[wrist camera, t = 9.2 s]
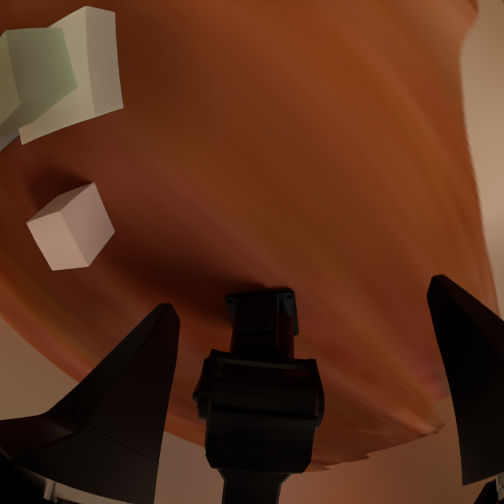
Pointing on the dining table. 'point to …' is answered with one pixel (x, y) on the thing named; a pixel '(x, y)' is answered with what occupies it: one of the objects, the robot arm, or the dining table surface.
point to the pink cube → (72, 228)
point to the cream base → (84, 73)
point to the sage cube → (32, 75)
